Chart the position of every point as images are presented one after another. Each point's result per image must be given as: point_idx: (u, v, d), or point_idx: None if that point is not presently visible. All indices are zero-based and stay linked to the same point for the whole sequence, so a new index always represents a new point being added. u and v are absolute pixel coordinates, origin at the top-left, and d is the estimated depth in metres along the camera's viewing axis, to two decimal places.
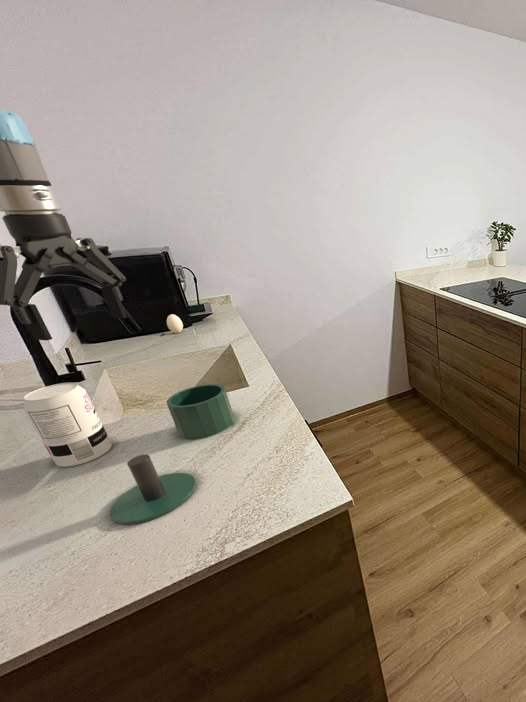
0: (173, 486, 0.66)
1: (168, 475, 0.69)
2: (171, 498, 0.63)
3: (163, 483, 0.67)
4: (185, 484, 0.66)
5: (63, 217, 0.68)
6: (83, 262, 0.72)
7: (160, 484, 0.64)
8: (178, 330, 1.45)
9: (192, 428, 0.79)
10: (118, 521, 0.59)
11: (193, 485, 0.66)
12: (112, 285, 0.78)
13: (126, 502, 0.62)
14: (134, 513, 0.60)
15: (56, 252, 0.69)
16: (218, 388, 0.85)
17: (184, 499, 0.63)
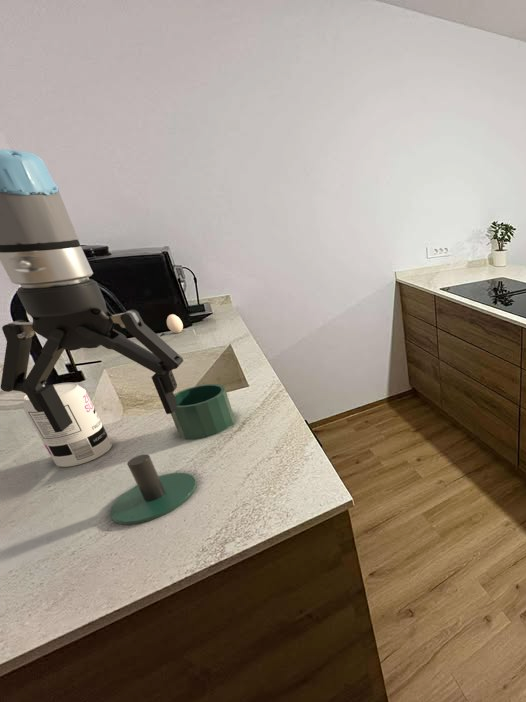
0: (173, 486, 0.66)
1: (168, 475, 0.69)
2: (171, 498, 0.63)
3: (163, 483, 0.67)
4: (185, 484, 0.66)
5: (65, 291, 0.48)
6: (108, 345, 0.53)
7: (160, 484, 0.64)
8: (178, 330, 1.45)
9: (192, 428, 0.79)
10: (118, 521, 0.59)
11: (193, 485, 0.66)
12: None
13: (126, 502, 0.62)
14: (134, 513, 0.60)
15: (75, 332, 0.52)
16: (218, 388, 0.85)
17: (184, 499, 0.63)
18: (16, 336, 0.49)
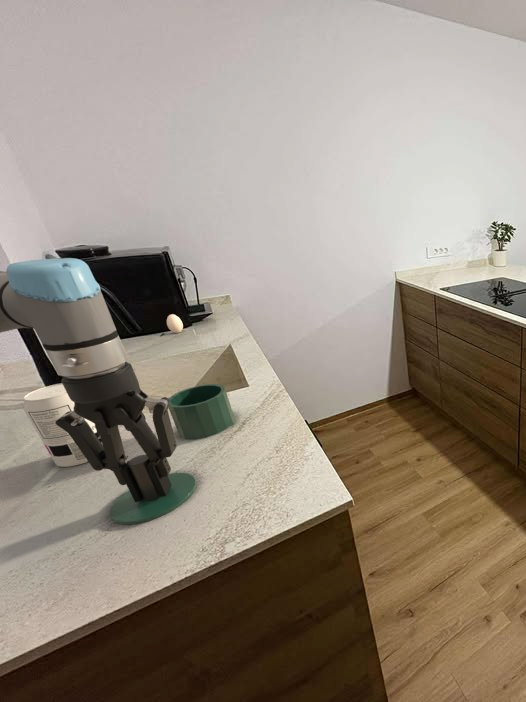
0: (173, 486, 0.66)
1: (168, 475, 0.69)
2: (171, 498, 0.63)
3: None
4: (185, 484, 0.66)
5: (105, 380, 0.53)
6: (129, 428, 0.57)
7: None
8: (178, 330, 1.45)
9: (192, 428, 0.79)
10: (118, 521, 0.59)
11: (193, 485, 0.66)
12: None
13: (126, 502, 0.62)
14: (134, 513, 0.60)
15: (112, 412, 0.56)
16: (218, 388, 0.85)
17: (184, 499, 0.63)
18: (70, 425, 0.55)
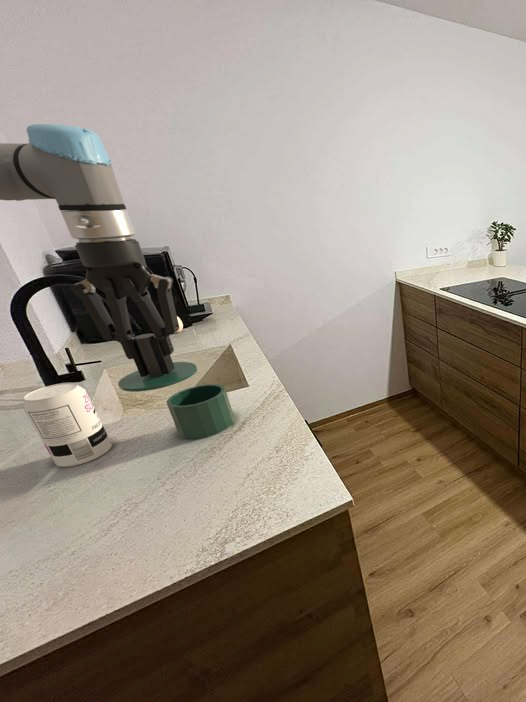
0: (176, 369, 0.71)
1: None
2: (174, 376, 0.68)
3: None
4: (187, 368, 0.71)
5: (114, 246, 0.58)
6: (135, 300, 0.62)
7: None
8: (178, 330, 1.45)
9: (192, 428, 0.79)
10: (125, 388, 0.64)
11: (194, 368, 0.71)
12: None
13: (132, 378, 0.68)
14: (140, 384, 0.65)
15: (120, 283, 0.61)
16: (218, 388, 0.85)
17: (186, 377, 0.68)
18: (83, 292, 0.60)
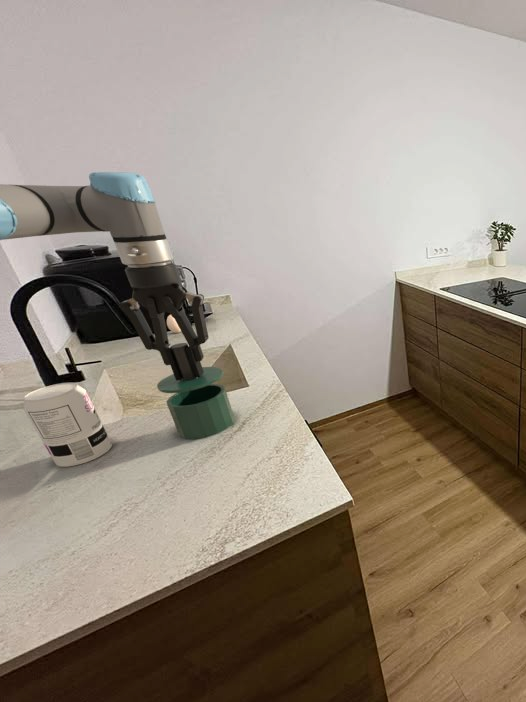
0: (205, 373, 0.82)
1: None
2: (204, 379, 0.79)
3: None
4: (214, 372, 0.82)
5: (158, 270, 0.69)
6: (173, 315, 0.73)
7: None
8: (178, 330, 1.45)
9: (192, 428, 0.79)
10: (164, 390, 0.75)
11: (221, 372, 0.82)
12: (189, 344, 0.77)
13: (168, 381, 0.78)
14: (176, 386, 0.76)
15: (161, 300, 0.72)
16: (218, 388, 0.85)
17: (214, 380, 0.79)
18: (130, 309, 0.71)
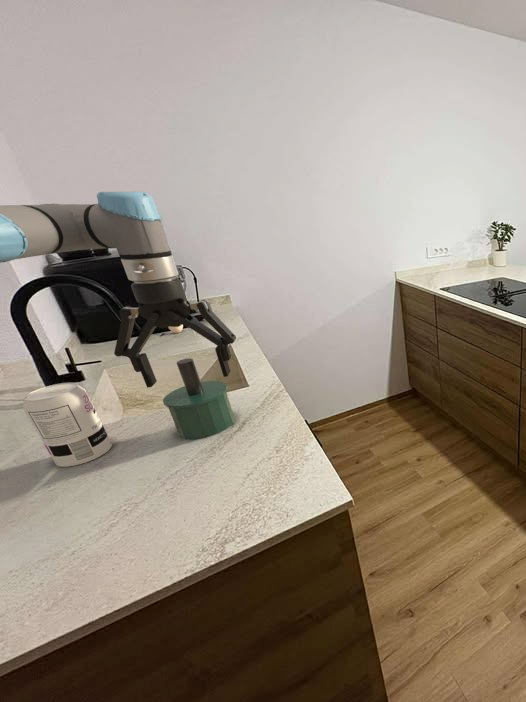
0: (209, 387, 0.83)
1: (204, 382, 0.86)
2: (209, 394, 0.81)
3: None
4: (218, 386, 0.84)
5: (164, 286, 0.70)
6: (187, 325, 0.75)
7: (200, 383, 0.81)
8: (178, 330, 1.45)
9: (192, 428, 0.79)
10: (170, 406, 0.76)
11: (225, 387, 0.83)
12: (219, 346, 0.79)
13: (174, 396, 0.80)
14: (182, 401, 0.78)
15: (166, 315, 0.73)
16: None
17: (219, 395, 0.81)
18: (127, 317, 0.71)
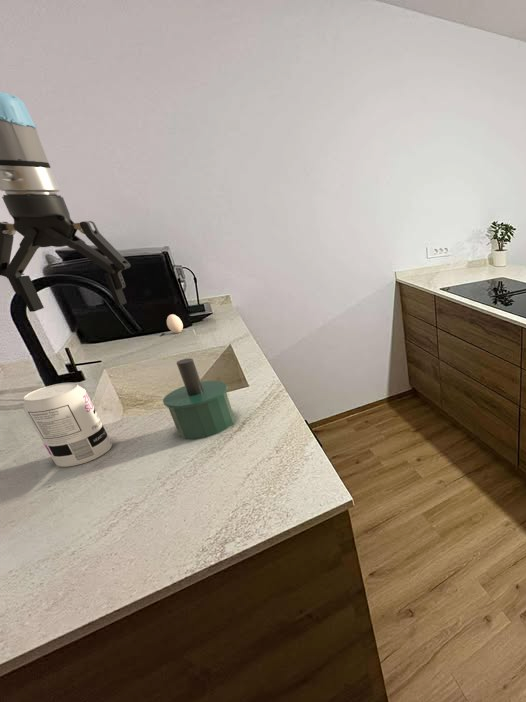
0: (209, 387, 0.83)
1: (204, 382, 0.86)
2: (209, 394, 0.81)
3: None
4: (218, 386, 0.84)
5: (37, 198, 0.66)
6: (70, 245, 0.71)
7: (200, 383, 0.81)
8: (178, 330, 1.45)
9: (192, 428, 0.79)
10: (170, 406, 0.76)
11: (225, 387, 0.83)
12: None
13: (174, 396, 0.80)
14: (182, 401, 0.78)
15: (45, 233, 0.70)
16: None
17: (219, 395, 0.81)
18: (1, 232, 0.68)
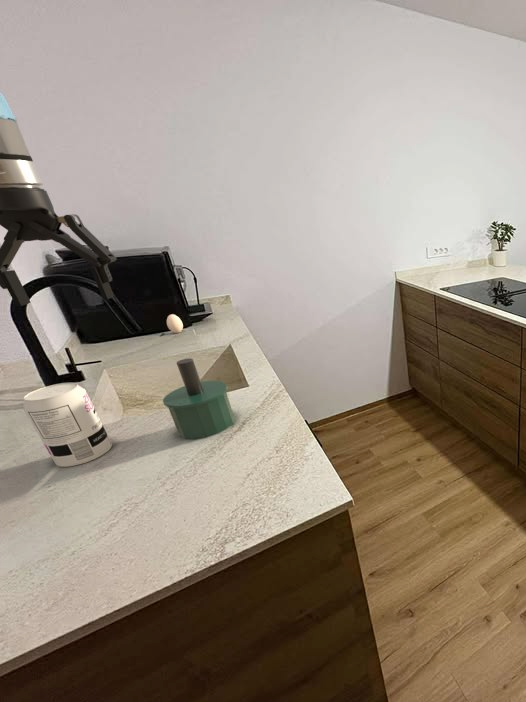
0: (209, 387, 0.83)
1: (204, 382, 0.86)
2: (209, 394, 0.81)
3: None
4: (218, 386, 0.84)
5: (20, 191, 0.66)
6: (54, 238, 0.71)
7: (200, 383, 0.81)
8: (178, 330, 1.45)
9: (192, 428, 0.79)
10: (170, 406, 0.76)
11: (225, 387, 0.83)
12: None
13: (174, 396, 0.80)
14: (182, 401, 0.78)
15: (30, 227, 0.70)
16: None
17: (219, 395, 0.81)
18: None
